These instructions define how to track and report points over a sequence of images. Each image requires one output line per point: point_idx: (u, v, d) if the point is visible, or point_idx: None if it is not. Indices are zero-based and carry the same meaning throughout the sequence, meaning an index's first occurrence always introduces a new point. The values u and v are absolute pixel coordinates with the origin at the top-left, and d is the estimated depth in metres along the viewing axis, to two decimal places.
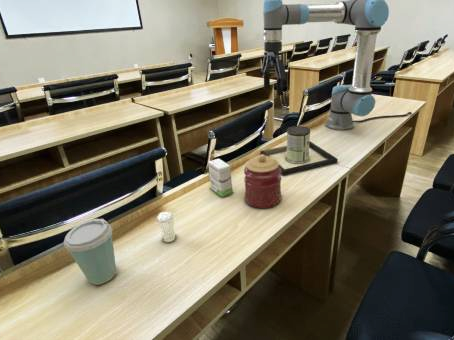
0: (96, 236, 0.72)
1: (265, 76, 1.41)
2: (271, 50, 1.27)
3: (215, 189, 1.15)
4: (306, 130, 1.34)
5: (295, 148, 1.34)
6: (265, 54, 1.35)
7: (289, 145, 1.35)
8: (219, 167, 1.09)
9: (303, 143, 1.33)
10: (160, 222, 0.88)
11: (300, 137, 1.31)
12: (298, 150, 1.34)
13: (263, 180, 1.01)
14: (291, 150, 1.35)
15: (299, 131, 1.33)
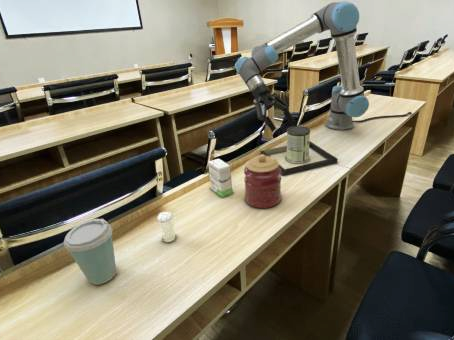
0: (96, 236, 0.72)
1: (284, 113, 1.45)
2: (255, 98, 1.41)
3: (215, 189, 1.15)
4: (306, 130, 1.34)
5: (295, 148, 1.34)
6: None
7: (289, 145, 1.35)
8: (219, 167, 1.09)
9: (303, 143, 1.33)
10: (160, 222, 0.88)
11: (300, 137, 1.31)
12: (298, 150, 1.34)
13: (263, 180, 1.01)
14: (291, 150, 1.35)
15: (299, 131, 1.33)
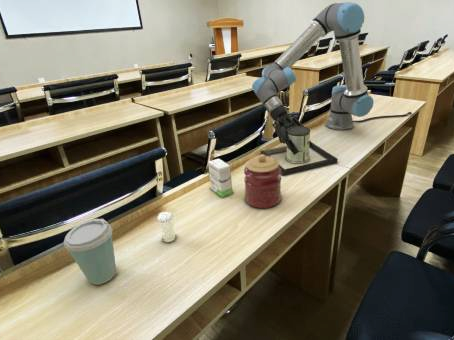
0: (96, 236, 0.72)
1: None
2: (273, 119, 1.38)
3: (215, 189, 1.15)
4: (306, 130, 1.34)
5: None
6: (289, 118, 1.43)
7: None
8: (219, 167, 1.09)
9: (303, 143, 1.33)
10: (160, 222, 0.88)
11: (300, 137, 1.31)
12: (298, 150, 1.34)
13: (263, 180, 1.01)
14: None
15: (299, 131, 1.33)
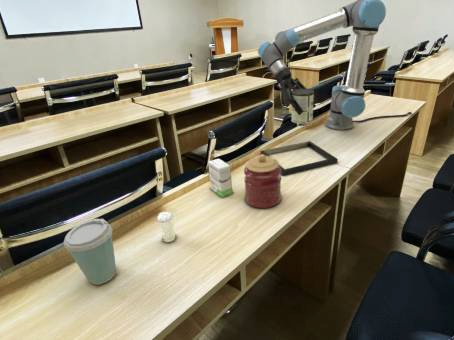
0: (96, 236, 0.72)
1: None
2: (278, 81, 1.44)
3: (215, 189, 1.15)
4: (310, 91, 1.40)
5: None
6: None
7: None
8: (219, 167, 1.09)
9: (307, 103, 1.39)
10: (160, 222, 0.88)
11: (304, 97, 1.37)
12: (303, 110, 1.40)
13: (263, 180, 1.01)
14: None
15: (303, 92, 1.39)
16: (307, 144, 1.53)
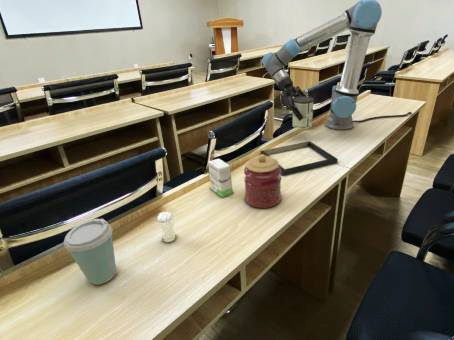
0: (96, 236, 0.72)
1: None
2: (280, 89, 1.56)
3: (215, 189, 1.15)
4: (310, 99, 1.52)
5: None
6: None
7: None
8: (219, 167, 1.09)
9: (307, 110, 1.50)
10: (160, 222, 0.88)
11: (304, 105, 1.49)
12: (303, 116, 1.52)
13: (263, 180, 1.01)
14: None
15: (304, 99, 1.51)
16: (307, 144, 1.53)
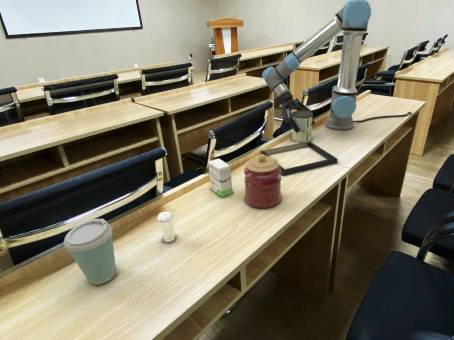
0: (96, 236, 0.72)
1: None
2: (280, 103, 1.59)
3: (215, 189, 1.15)
4: (309, 113, 1.55)
5: (299, 128, 1.55)
6: (294, 102, 1.64)
7: None
8: (219, 167, 1.09)
9: (306, 124, 1.54)
10: (160, 222, 0.88)
11: (303, 119, 1.52)
12: (302, 130, 1.55)
13: (263, 180, 1.01)
14: None
15: (303, 114, 1.54)
16: (307, 144, 1.53)
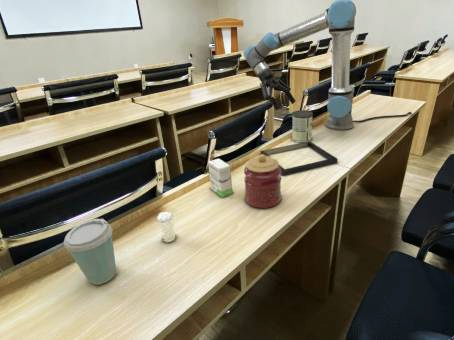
0: (96, 236, 0.72)
1: (286, 94, 1.66)
2: (261, 81, 1.62)
3: (215, 189, 1.15)
4: (309, 113, 1.55)
5: (299, 128, 1.55)
6: (275, 81, 1.67)
7: (294, 126, 1.56)
8: (219, 167, 1.09)
9: (306, 124, 1.54)
10: (160, 222, 0.88)
11: (304, 119, 1.52)
12: (302, 130, 1.55)
13: (263, 180, 1.01)
14: (296, 131, 1.56)
15: (303, 114, 1.54)
16: (307, 144, 1.53)
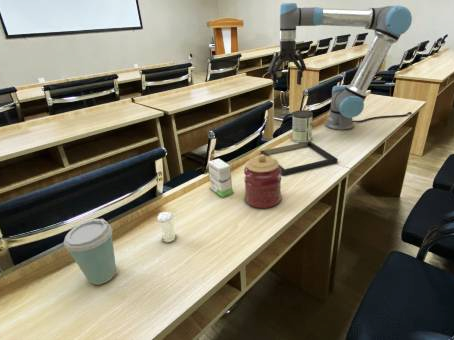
0: (96, 236, 0.72)
1: (297, 72, 1.55)
2: None
3: (215, 189, 1.15)
4: (309, 113, 1.55)
5: (299, 128, 1.55)
6: None
7: (294, 126, 1.56)
8: (219, 167, 1.09)
9: (306, 124, 1.54)
10: (160, 222, 0.88)
11: (304, 119, 1.52)
12: (302, 130, 1.55)
13: (263, 180, 1.01)
14: (296, 131, 1.56)
15: (303, 114, 1.54)
16: (307, 144, 1.53)
